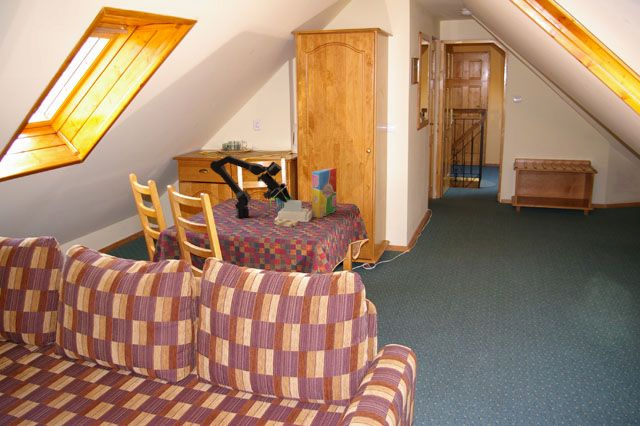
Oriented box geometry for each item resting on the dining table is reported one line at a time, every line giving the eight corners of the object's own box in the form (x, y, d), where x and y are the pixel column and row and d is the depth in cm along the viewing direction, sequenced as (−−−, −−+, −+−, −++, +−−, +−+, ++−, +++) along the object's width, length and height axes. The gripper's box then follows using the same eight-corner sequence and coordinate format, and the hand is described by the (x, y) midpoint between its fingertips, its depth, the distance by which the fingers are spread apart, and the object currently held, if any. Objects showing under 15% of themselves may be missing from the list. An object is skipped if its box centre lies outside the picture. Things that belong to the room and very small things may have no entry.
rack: (274, 220, 333) (274, 212, 332) (279, 215, 344) (279, 207, 343) (308, 221, 330) (308, 213, 328) (312, 216, 341) (312, 208, 340)
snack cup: (294, 209, 361) (294, 193, 359) (296, 213, 351) (296, 196, 349) (269, 210, 359) (269, 194, 357) (270, 214, 349) (270, 197, 347)
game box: (319, 218, 337) (319, 172, 331) (311, 217, 340) (311, 172, 334) (336, 211, 355) (336, 167, 348) (329, 210, 357) (328, 167, 351)
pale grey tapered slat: (284, 217, 337) (284, 200, 334) (285, 216, 338) (284, 200, 336) (301, 217, 335) (300, 201, 333) (301, 217, 337) (301, 200, 334)
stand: (274, 224, 325) (274, 220, 324) (281, 222, 329) (281, 218, 329) (291, 227, 318) (291, 223, 317) (297, 224, 323) (297, 221, 322)
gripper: (264, 187, 345) (282, 206, 346) (256, 193, 328) (275, 213, 328) (277, 175, 342) (295, 194, 343) (269, 180, 324) (288, 200, 325)
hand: (288, 200), depth 335 cm, fingers open, 9 cm apart
